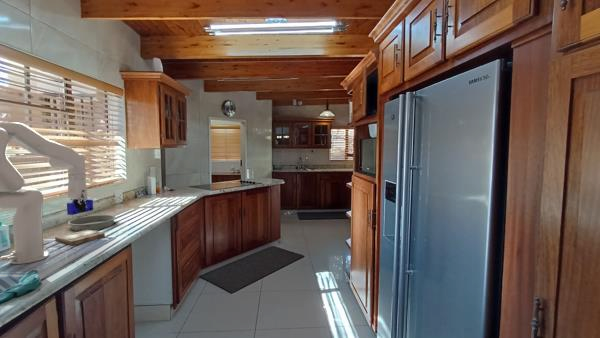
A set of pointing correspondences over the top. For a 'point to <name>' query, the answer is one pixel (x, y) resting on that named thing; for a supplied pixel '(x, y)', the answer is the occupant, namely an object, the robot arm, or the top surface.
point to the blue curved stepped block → (73, 210)
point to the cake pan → (91, 222)
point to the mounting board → (79, 237)
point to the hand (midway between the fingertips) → (79, 210)
